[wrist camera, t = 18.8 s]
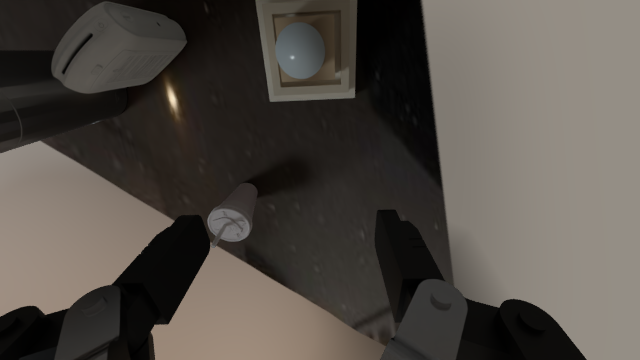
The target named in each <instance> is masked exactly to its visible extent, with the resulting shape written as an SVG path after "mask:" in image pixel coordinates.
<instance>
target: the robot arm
mask: <svg viewBox="0 0 640 360" xmlns="http://www.w3.org/2000/svg"><path fill="white" fill-rule="evenodd" d="M54 53H55V51H51V50H0V153H3V152H6V151H9V150H12V149H15V148H18V147H21V146H24V145H27V144H31V143H34V142H37V141H40V140H43V139H46V138H49V137H53V136H56V135H59V134H62V133H65V132H68V131H71V130H75V129H78V128H81V127H84V126H87V125H90V124H94V123H97V122H100V121H103V120H106V119H109V118H112V117H116V116H118V115H119V114H121V113H122V112H123V111H124V109H125V107H126V105H127V92H126V89H125V87H124V88H119V89H113V90H108V91H102V92H97V93H90V94H88V93H81V92H77V91H74V90H72V89H69V88H67V87H65V86H64V85H63V84H62V82H61V81H60V80H58V79H57V78H55V77H54V76H53V74H52V71H51V64H52V58H53V55H54ZM375 248H376V252H377V256H378V260H379V264H380V268H381V272H382V275H383V279H384V283H385V287H386V291H387V295H388V298H389V302H390V306H391V310H392V314H393V318H394V321H395V322H401V324H400V326H399V328H398V331H397V333H396V335H395V336H394V338H391V339H390V341H389V343H388V344H387V346H386V349H385V350H384V353H383V355H382V357H381V359H380V360H586V358H585V357H584V356H583V354H582V353H581V352H580V351H579V349H578V348H577V347H576V346H575V344H574V343H573V342H572V341H571V339H570V338H569V337H568V336H567V334H566V333H565V332H564V331H563V329H562V328H561V327H560V326H559V324H558V323H557V322H556V321H555V320H554V319H553V318H552V317H551V316H550V315H549V314H547V313H546V312H545V311H543V310H542V309H540V308H539V307H537V306H535V305H533V304H531V303H528V302H526V301H522V300H516V299H510V300H506V301H504V302H503V303H502V304H501V306H500V308H498V307H493V306H490V305H486V304H483V303H479V302H475V301H472V300H469V299H466V298H465V297H464V296H463V295H462V294H461V293H460V292H459V290H458V289H456V288H455V287H454V286H452V285H451V284H449V283H447V282H445V280H444V278H443V276H442V274H441V273H440V271H439V269H438V267H437V265H436V263H435V261H434V259H433V257H432V255H431V254H430V252H429V250H428V248H427V246H426V244H425V242H424V240H422V236H421V235H420V233H419V231H418V229H417V228H416V227H415V226H414V225H413V224H411V223H410V222H409V221H400V218H399V216H398V214H397V212H396V210H378V211H377V216H376V228H375ZM209 251H210V239H209V236H208V234H207V231H206V228H205V226H204V223H203V220H202V218H201V216H199V215H181V216H179V217H178V218H177V219H176V220H175V222H174V223H173V224H172V225H171V226H170V227H168V228H166V229H165V230H164V231H162V232H160V233H159V234H157V235H156V236H155V237H154V239H153V240H152V241H151V242H150V243H149V244H148V246H147V247H145V248H144V250H143V251H142V252H141V254H139V255H138V256H137V257H136V258H135V260H134V261H133V262H132V263H131V264H130V265H129V266H128V267H127V268H126V269H125V271H124V272H123V273H122V274H121V275H120V276H119V277H118V278H117V280H116V281H115V282H114V283H113V284H112V285H108V286H103V287H100V288H97V289H95V290H93V291H91V292H89V293H87V294H85V295H84V296H82V297H81V298H80V299H79V300H77V301H76V302H75V303H74V304H73V305H72V306H71V307H70V308H69V309H65V310H62V311H58V312H54V313H51V314H47V315H45V314H44V313H43V312H42V311H41V310H39V308H37V307H36V306H26V307H21V308H18V309H16V310H13V311H11V312H9V313H7V314H5V315H3V316H1V317H0V360H155V355H154V344H153V336H152V334H151V330H152V328H153V327H154V325H159V324H169V322H170V320H171V319H172V317H173V315H174V313H175V311H176V310H177V308H178V306H179V305H180V303H181V301H182V299H183V298H184V296H185V294H186V292H187V291H188V289H189V287H190V285H191V283H192V282H193V280H194V278H195V276H196V275H197V273H198V271H199V269H200V267H201V266H202V264H203V262H204V261H205V259H206V257H207V255H208V253H209Z"/></svg>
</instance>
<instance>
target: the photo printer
mask: <svg viewBox="0 0 640 360" xmlns="http://www.w3.org/2000/svg"><path fill="white" fill-rule="evenodd" d="M186 43H187V41H186V36H185V33H184V31H183V29H182V28H181V27H180V25H179V24H178V23H177V22H175V21H173V20H171V19H168V18H167V16H165V15H162V14H158V13H155V12H151V11H146V10H142V9H138V8H134V7H130V6H126V5H121V4H117V3H113V2H107V1H105V2H102V3H100V4H98V5H96V6H94V7H92V8H91V9H89V10H88V11H87V12H86V13H84V14H83V15H82V16H81V17H80V18H79V19H78V20H77V21H76V22H75V23H74V24H73V26H72V27H71V28H70V29H69V30H68V32H67V33H66V34H65V35H64V37H63V38H62V40H61V41H60V43H59V45H58V46H57V48H56V50H55V53H54V55H53V58H52V64H51V71H52V74H53V76H54V77H55V78H57V79H58V80H60V81H61V82H62V84H63V85H64V86H65V87H67V88H69V89H72V90H74V91H77V92H81V93H88V94H90V93H97V92H102V91H108V90H113V89H119V88H124V87H130V86H136V85H142V84H145V83H147V82H149V81H151V80H152V79H153V78H155V77H156V76H157V75H158V74H159V73H160V72H161V71H162V70H163V69H164V68H165V67H166V66H167V65H168V64H169V63H170V62H171V61H172V60H173V59H174V58H175V57H176V56H177V55H178V54H179V53H180V51H181V50H182V49H183V48H184V46H185V45H186Z"/></svg>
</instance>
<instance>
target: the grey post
mask: <svg viewBox="0 0 640 360" xmlns="http://www.w3.org/2000/svg"><path fill="white" fill-rule="evenodd" d="M275 52H276V58H277V61H278V63H279V65H280V67H281V68H282V70H283V71H284V72H285V73H286V74H288V75H289V76H291V77H293V78H297V79H306V78H309V77H311V76H313V75H314V74H316V73H317V72H318V71H319V69H320V68H321V66H322V64H323V62H324V58H325V46H324V42H323V39H322V37H321V35H320V34H319V32H318V31H317V30H316V29H315V28H314V27H312V26H311V25H309V24H307V23H303V22H296V23H292V24H290V25H288V26H286V27H285V28H284V29H283V30H282V31H281V32H280V34H279V36H278V38H277V41H276V47H275Z"/></svg>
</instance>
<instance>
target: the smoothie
mask: <svg viewBox="0 0 640 360" xmlns="http://www.w3.org/2000/svg"><path fill="white" fill-rule="evenodd" d="M257 194H258V191H257V189H256V187H255V186H254V185H252V184H250V183H242V184H240V185H239V186H238V187H237V188H236V189H235V190H234V191H233V192H232V194H231V195H230V196H229V197H228V198H227V199H226V200H225V201H224V202H223V203H222V204H221V205H220V206H218V207H216V208H215V209H213V210H212V212H211V214H210V215H209V217H208V226H209V228H210V230H211V231H212V233H213V234H215V235H216V238H215V240H214V241H213V243H212V245H211V247H213V248H215V247H216V245H217V243H218V241H219V239H220V238H221V239H223V240H226V241H240V240H242V239H244V238H246V237H247V236H248V235H249V233H250V231H251V229H252V216H253V212H254V207H255V203H256V199H257Z"/></svg>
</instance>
